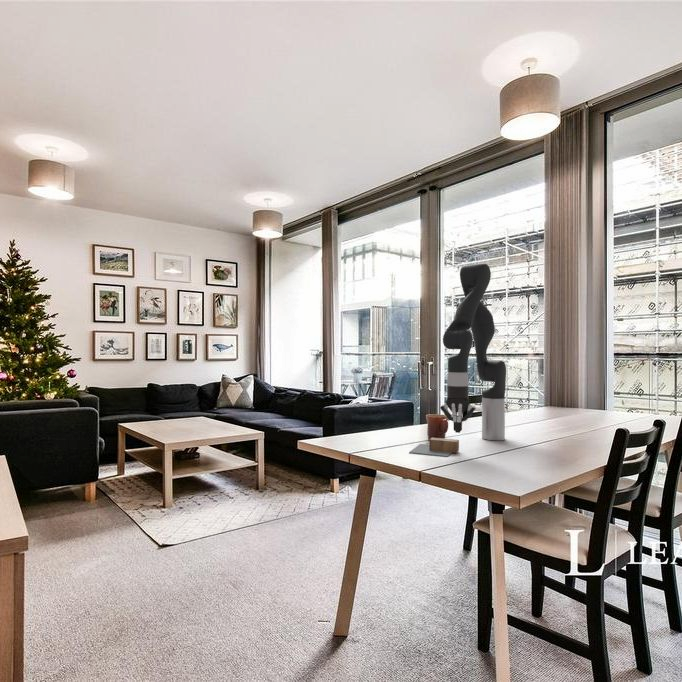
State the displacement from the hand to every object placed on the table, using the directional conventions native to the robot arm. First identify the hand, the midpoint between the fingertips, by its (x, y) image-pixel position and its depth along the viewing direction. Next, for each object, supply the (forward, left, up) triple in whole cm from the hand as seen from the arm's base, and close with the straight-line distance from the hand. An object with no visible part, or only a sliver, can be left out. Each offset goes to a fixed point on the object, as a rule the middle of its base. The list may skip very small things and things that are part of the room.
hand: (457, 432), depth 170 cm
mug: (-19, -11, -8) cm, 23 cm away
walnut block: (0, 0, -5) cm, 5 cm away
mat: (0, -9, -8) cm, 12 cm away
